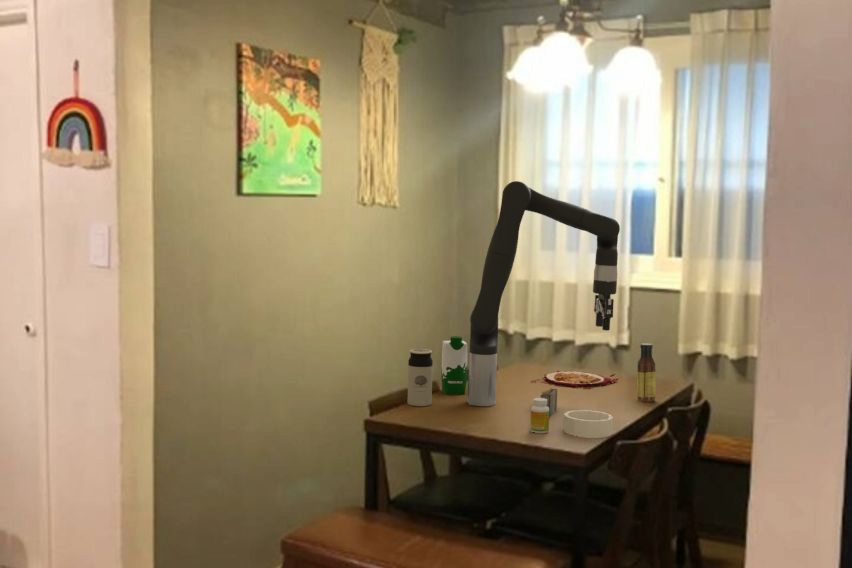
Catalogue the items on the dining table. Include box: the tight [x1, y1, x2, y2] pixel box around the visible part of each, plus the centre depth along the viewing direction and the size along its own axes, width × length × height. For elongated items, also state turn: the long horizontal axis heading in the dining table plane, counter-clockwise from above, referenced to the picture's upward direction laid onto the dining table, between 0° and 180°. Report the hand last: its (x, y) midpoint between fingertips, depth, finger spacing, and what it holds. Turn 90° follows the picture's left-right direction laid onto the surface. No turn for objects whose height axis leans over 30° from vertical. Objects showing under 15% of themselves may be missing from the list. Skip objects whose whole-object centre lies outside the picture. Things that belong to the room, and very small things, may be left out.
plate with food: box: [531, 370, 619, 390], centre depth 354 cm, size 24×26×3 cm
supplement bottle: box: [529, 397, 550, 434], centre depth 276 cm, size 5×5×10 cm
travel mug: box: [407, 348, 433, 407], centre depth 308 cm, size 8×8×18 cm
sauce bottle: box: [636, 342, 657, 403], centre depth 322 cm, size 6×6×20 cm
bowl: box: [562, 409, 614, 439], centre depth 277 cm, size 14×14×5 cm
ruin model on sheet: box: [540, 387, 558, 418], centre depth 299 cm, size 11×3×10 cm, turn 158°
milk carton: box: [440, 336, 468, 395], centre depth 329 cm, size 9×9×20 cm
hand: (602, 328), depth 304 cm, fingers open, 8 cm apart
